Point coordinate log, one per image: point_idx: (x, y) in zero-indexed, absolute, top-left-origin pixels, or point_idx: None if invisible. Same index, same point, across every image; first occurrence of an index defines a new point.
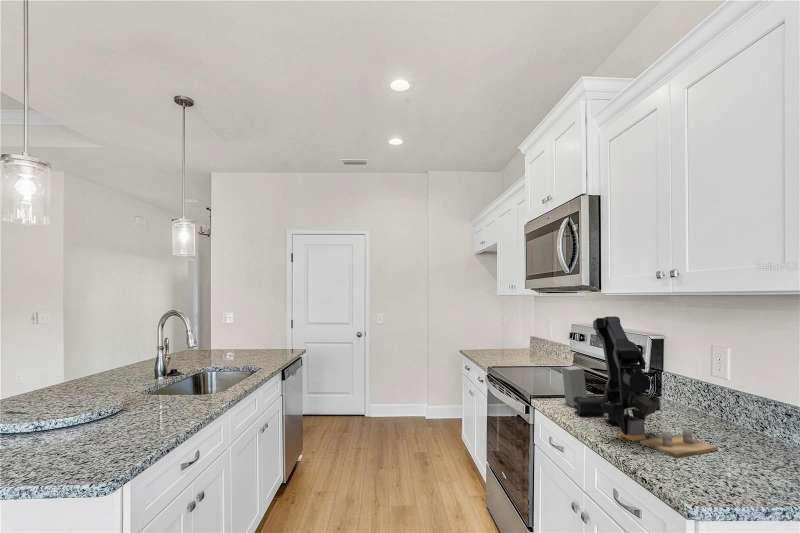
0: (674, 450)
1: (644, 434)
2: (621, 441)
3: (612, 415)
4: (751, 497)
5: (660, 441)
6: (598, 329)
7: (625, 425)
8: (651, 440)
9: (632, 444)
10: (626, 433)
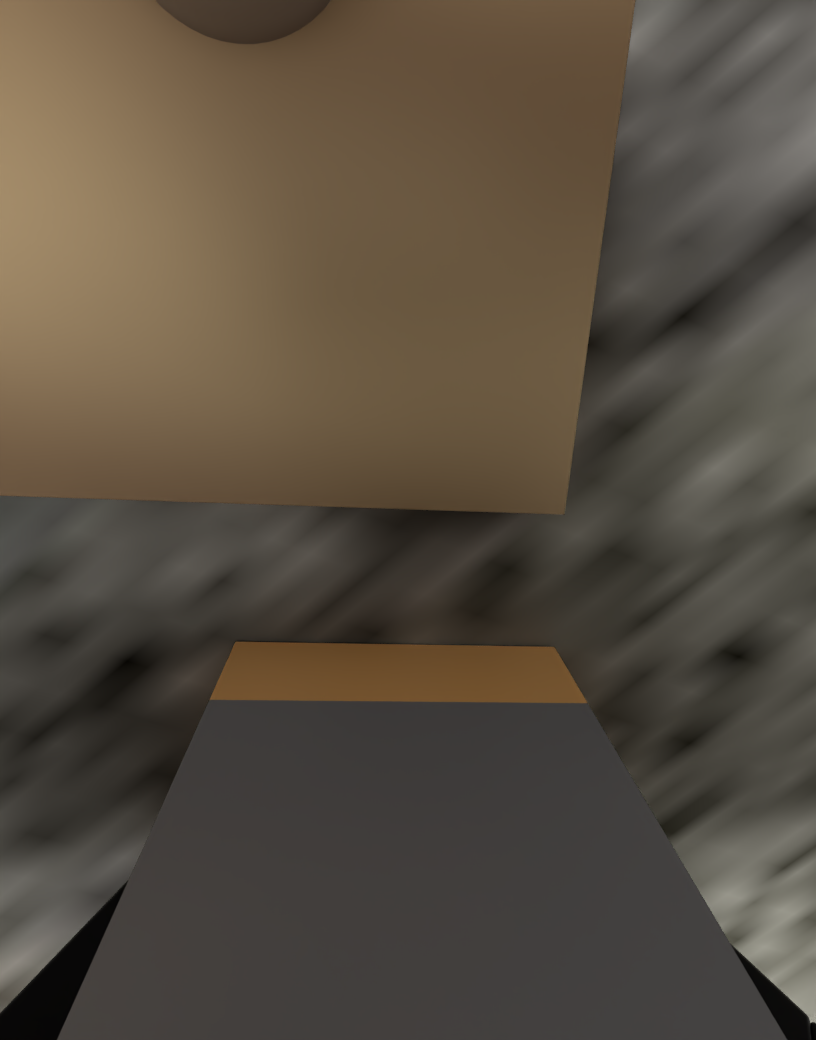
0: None
1: (220, 697)
2: (747, 695)
3: None
4: None
5: (177, 237)
6: None
7: (794, 1023)
8: (335, 398)
9: (724, 515)
10: None
